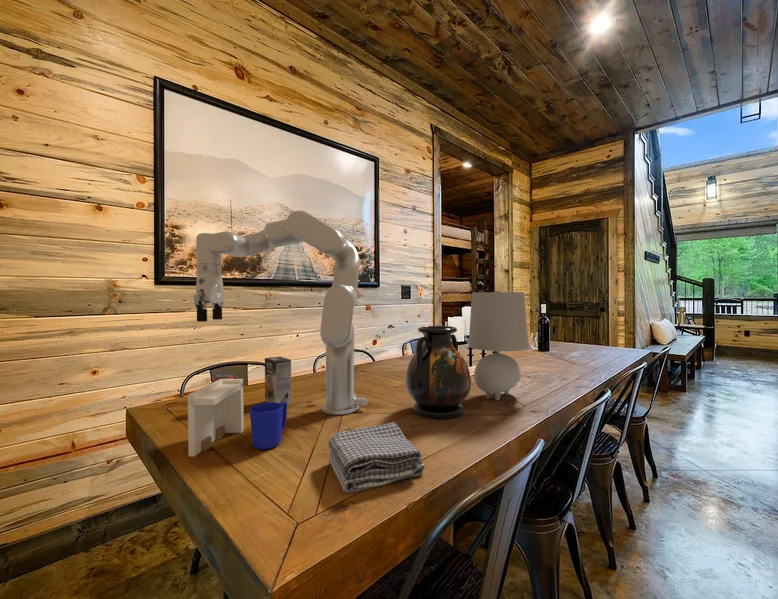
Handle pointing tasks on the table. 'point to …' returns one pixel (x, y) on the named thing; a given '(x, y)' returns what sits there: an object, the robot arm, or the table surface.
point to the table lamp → (498, 338)
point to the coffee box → (278, 380)
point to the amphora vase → (438, 374)
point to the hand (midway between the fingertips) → (210, 320)
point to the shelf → (214, 413)
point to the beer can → (223, 376)
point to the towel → (373, 457)
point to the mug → (267, 424)
